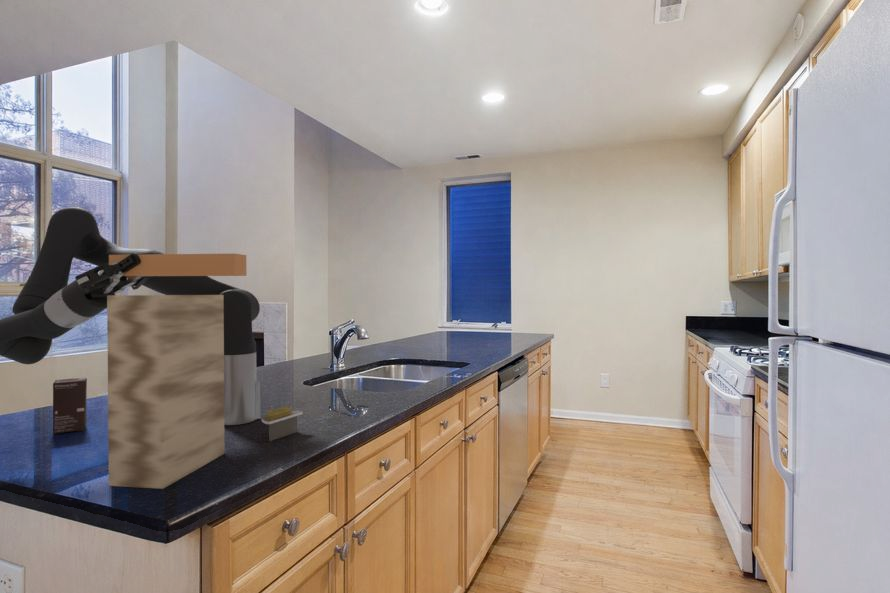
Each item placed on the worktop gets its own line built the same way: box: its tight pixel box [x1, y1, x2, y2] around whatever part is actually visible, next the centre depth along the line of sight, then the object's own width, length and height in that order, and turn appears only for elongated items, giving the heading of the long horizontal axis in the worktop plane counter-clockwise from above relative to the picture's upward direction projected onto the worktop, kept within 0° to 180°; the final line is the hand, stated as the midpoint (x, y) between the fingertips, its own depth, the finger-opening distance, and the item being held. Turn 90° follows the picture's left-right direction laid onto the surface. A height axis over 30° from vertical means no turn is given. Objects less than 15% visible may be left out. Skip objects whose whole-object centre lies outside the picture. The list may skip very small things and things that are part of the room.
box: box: [52, 377, 88, 435], centre depth 110 cm, size 6×4×12 cm
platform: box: [261, 405, 303, 442], centre depth 105 cm, size 12×18×7 cm, turn 151°
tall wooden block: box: [106, 294, 226, 490], centre depth 86 cm, size 10×17×32 cm, turn 173°
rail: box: [109, 253, 247, 277], centre depth 90 cm, size 26×4×4 cm, turn 83°
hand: (146, 258), depth 91 cm, fingers closed on rail, 4 cm apart
